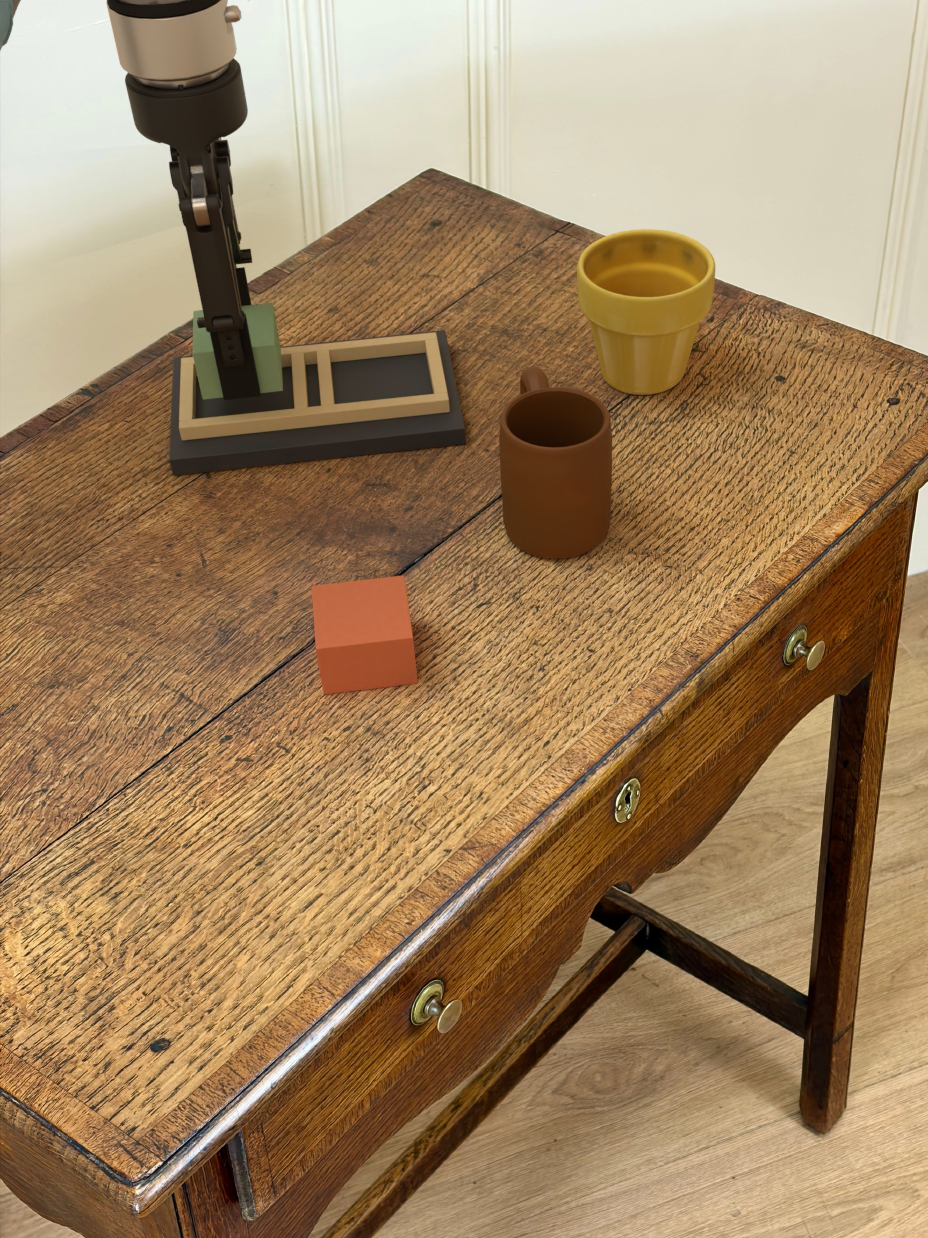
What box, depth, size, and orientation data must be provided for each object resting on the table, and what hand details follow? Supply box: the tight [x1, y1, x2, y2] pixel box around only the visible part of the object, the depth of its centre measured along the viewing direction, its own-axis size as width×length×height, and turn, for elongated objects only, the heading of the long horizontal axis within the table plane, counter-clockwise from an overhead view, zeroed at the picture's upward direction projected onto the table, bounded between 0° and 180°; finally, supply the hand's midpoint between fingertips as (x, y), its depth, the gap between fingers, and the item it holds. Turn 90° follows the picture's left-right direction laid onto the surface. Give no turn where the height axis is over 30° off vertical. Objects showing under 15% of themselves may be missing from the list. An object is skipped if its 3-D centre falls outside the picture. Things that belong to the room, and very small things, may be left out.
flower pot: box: [576, 228, 716, 396], centre depth 115 cm, size 10×10×10 cm
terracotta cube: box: [311, 574, 419, 695], centre depth 94 cm, size 6×6×4 cm
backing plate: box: [168, 329, 467, 477], centre depth 115 cm, size 22×14×3 cm, turn 98°
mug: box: [498, 365, 613, 560], centre depth 103 cm, size 12×8×9 cm, turn 13°
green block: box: [191, 302, 283, 400], centre depth 111 cm, size 6×6×4 cm
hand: (241, 370), depth 113 cm, fingers closed on green block, 6 cm apart
